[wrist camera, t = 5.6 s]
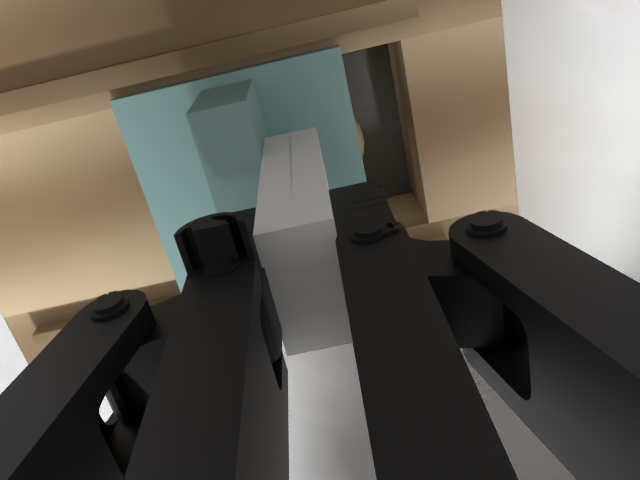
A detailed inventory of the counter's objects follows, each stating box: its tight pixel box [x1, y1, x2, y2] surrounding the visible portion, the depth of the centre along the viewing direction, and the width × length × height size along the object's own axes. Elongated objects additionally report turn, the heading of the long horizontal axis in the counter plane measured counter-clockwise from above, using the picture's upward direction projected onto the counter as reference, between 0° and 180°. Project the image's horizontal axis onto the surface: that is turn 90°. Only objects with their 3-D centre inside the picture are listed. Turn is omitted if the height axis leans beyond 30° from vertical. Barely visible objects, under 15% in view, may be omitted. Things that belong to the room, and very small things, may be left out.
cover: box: [109, 45, 367, 292], centre depth 17 cm, size 7×7×4 cm
